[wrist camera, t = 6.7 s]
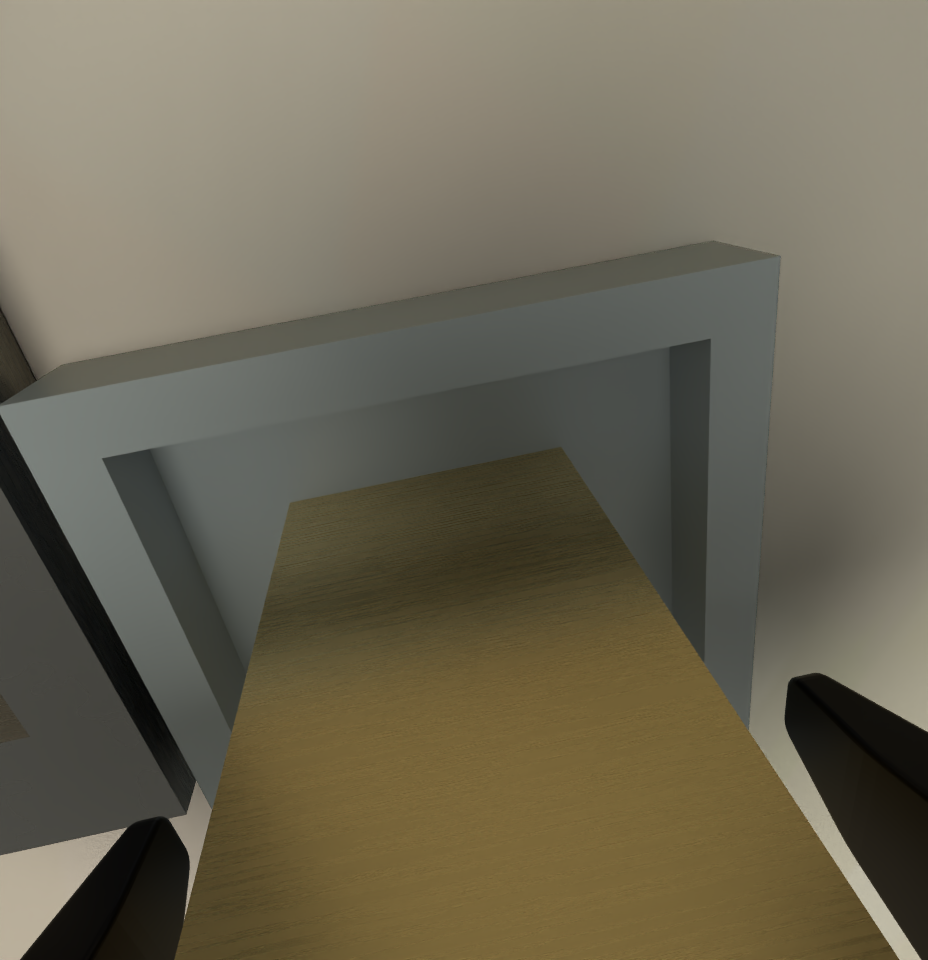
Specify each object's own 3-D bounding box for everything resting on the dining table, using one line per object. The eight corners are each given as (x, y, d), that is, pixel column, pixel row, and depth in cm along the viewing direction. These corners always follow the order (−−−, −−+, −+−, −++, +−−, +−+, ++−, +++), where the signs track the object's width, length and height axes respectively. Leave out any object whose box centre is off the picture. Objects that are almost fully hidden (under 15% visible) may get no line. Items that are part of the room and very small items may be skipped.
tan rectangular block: (561, 447, 12) (914, 982, 4) (582, 652, 14) (831, 1240, 6) (289, 502, 11) (119, 1174, 4) (357, 701, 14) (334, 1367, 6)
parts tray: (713, 240, 11) (780, 255, 9) (703, 703, 16) (745, 771, 14) (61, 365, 10) (-4, 407, 9) (265, 799, 15) (251, 883, 14)
